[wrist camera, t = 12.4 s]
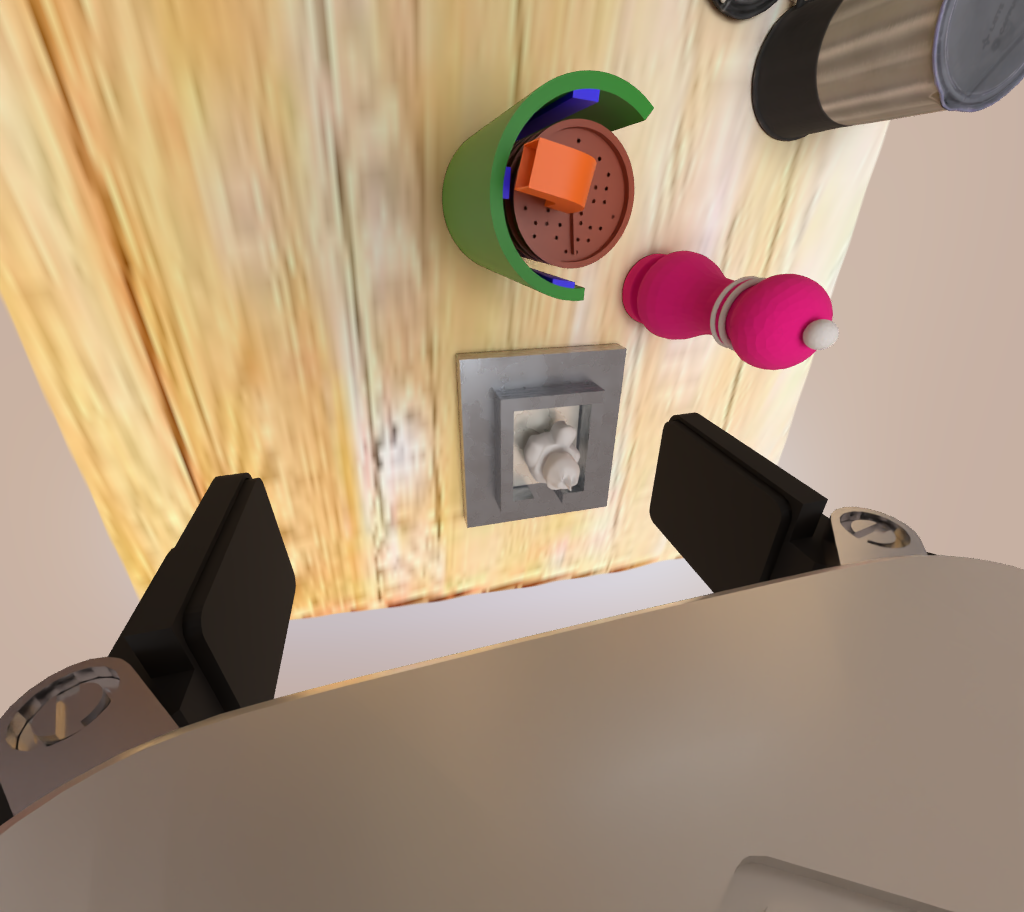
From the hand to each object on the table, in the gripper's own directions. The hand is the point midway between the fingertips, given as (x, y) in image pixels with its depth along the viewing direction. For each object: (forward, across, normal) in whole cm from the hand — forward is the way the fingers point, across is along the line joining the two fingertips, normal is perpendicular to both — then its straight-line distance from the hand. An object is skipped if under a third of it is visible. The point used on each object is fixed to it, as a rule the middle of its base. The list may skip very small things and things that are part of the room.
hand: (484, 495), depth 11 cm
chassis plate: (+31, -11, +15) cm, 37 cm away
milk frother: (+32, -31, -17) cm, 48 cm away
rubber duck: (+29, -12, +15) cm, 35 cm away
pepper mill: (+32, -23, +2) cm, 39 cm away
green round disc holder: (+32, -8, -6) cm, 34 cm away
